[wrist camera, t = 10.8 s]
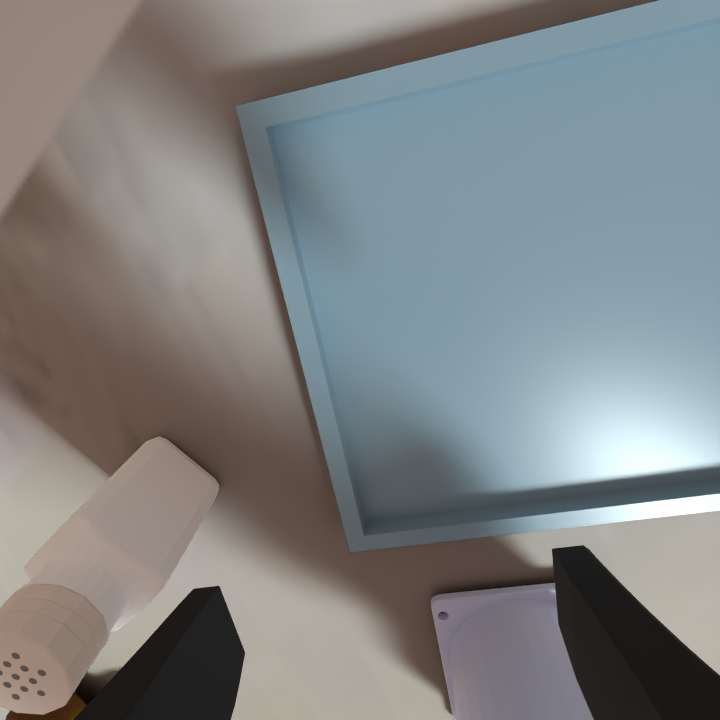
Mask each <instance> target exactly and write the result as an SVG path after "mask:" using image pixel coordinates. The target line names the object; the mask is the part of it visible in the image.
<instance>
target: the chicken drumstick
mask: <svg viewBox="0 0 720 720" xmlns="http://www.w3.org/2000/svg"><path fill="white" fill-rule="evenodd" d="M86 706H87V705H86V704H85V703H84V702H83V701H82V699H80V698H79V697H78V696H77V694H76V693H75V691H74V693H73V694H72V696H71V697H70V699H69V701H68V702H67V704H66V705H65V706H63V707H61V708H59V709H56V710H54V711H51V712H49V713H46V714H44V715H41V714H27V713H16V712H13V711H11V710H10V712H9V713H8V715H7V716H6V720H73V719H74V718H75V717H76V716H77V715H78V714H79V713H80V712H81V711H82V710H83V709H84V708H85V707H86Z"/></svg>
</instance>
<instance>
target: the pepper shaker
mask: <svg viewBox="0 0 720 720" xmlns="http://www.w3.org/2000/svg"><path fill="white" fill-rule="evenodd" d="M218 491H219V484H218V482H217V481H216V479H215V478H214V477H213V476H211V475H210V474H209V473H208V472H206V471H205V470H204V469H203V468H202V467H200V466H199V465H198V464H197V463H195V462H194V461H193V460H192V459H191V458H189V457H188V456H187V455H186V454H184V453H183V452H182V451H181V450H180V449H178V448H177V447H176V446H175V445H173V444H172V443H171V442H170V441H169V440H167V439H165V438H162V437H160V436H159V437H156V438H153V439H151V440H148V441H146V442H145V443H144V444H143V445H142V446H141V447H140V448H139V449H138V450H137V451H136V452H135V453H134V454H133V455H132V456H131V457H130V458H129V459H128V460H127V461H126V462H125V463H124V464H123V465H122V466H121V467H120V468H119V469H118V470H117V471H116V472H115V473H114V474H113V475H112V476H111V477H110V478H109V479H108V480H107V481H106V482H105V483H104V484H103V485H102V486H101V487H100V488H99V489H98V490H97V491H96V492H95V493H94V494H93V495H92V496H91V497H90V498H89V499H88V500H87V501H86V502H85V503H84V504H83V505H82V506H81V507H80V508H79V509H78V510H77V511H76V512H75V513H74V514H73V515H72V516H71V517H70V518H69V519H68V520H67V521H66V522H65V523H64V524H63V525H62V526H61V527H60V528H59V529H58V530H57V531H56V533H55V534H54V535H53V536H52V537H51V538H50V539H49V540H48V541H47V542H46V543H45V544H44V545H43V546H42V547H41V548H40V550H39V551H38V552H37V553H36V554H35V555H34V556H33V557H32V558H31V559H30V560H29V562H28V563H27V564H26V565H25V572H26V576H27V578H28V581H29V583H28V584H25V585H24V586H22V587H21V588H19V589H18V590H17V591H16V592H15V593H14V594H13V595H12V596H11V597H10V598H9V599H8V600H7V601H6V602H5V603H4V604H3V607H1V608H0V706H2V707H4V708H6V709H9V710H11V711H13V712H16V713H27V714H41V715H44V714H46V713H49V712H51V711H54V710H56V709H59V708H61V707H63V706H65V705H66V704H67V702H68V701H69V699H70V697H71V696H72V694H73V693H74V691H75V690H76V688H77V687H78V685H79V683H80V682H81V680H82V678H83V677H84V676H85V674H86V673H87V671H88V669H89V668H90V666H91V665H92V663H93V662H94V660H95V659H96V657H97V656H98V654H99V652H100V651H101V650H102V648H103V647H104V646H105V644H106V643H107V641H108V638H109V635H110V631H117V630H118V629H120V628H121V627H122V626H124V625H125V624H126V623H127V622H129V621H130V620H131V619H132V618H133V617H135V616H136V615H137V614H138V613H139V612H140V611H141V610H142V609H143V608H144V607H145V606H146V605H147V604H149V603H150V601H151V600H152V599H153V598H154V597H155V596H156V595H157V594H158V593H159V592H160V591H161V590H162V589H163V588H164V586H165V584H166V582H167V581H168V579H169V577H170V576H171V574H172V572H173V571H174V569H175V567H176V565H177V564H178V562H179V560H180V559H181V557H182V555H183V553H184V552H185V550H186V548H187V547H188V545H189V543H190V542H191V540H192V538H193V536H194V535H195V533H196V531H197V530H198V528H199V526H200V524H201V523H202V521H203V519H204V518H205V516H206V514H207V513H208V511H209V509H210V507H211V506H212V504H213V502H214V501H215V499H216V497H217V494H218Z"/></svg>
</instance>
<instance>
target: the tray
mask: <svg viewBox="0 0 720 720" xmlns="http://www.w3.org/2000/svg"><path fill="white" fill-rule="evenodd" d="M235 108H236V112H237V116H238V120H239V123H240V127H241V131H242V135H243V139H244V143H245V147H246V151H247V155H248V159H249V162H250V166H251V170H252V174H253V178H254V182H255V186H256V190H257V194H258V197H259V201H260V205H261V209H262V213H263V217H264V221H265V225H266V229H267V232H268V236H269V240H270V244H271V248H272V252H273V256H274V260H275V264H276V267H277V271H278V275H279V279H280V283H281V287H282V291H283V295H284V299H285V302H286V306H287V310H288V314H289V318H290V322H291V326H292V330H293V334H294V337H295V341H296V345H297V349H298V353H299V357H300V361H301V365H302V369H303V372H304V376H305V380H306V384H307V388H308V392H309V396H310V400H311V404H312V407H313V411H314V415H315V419H316V423H317V427H318V431H319V435H320V439H321V442H322V446H323V450H324V454H325V458H326V462H327V466H328V470H329V474H330V477H331V481H332V485H333V489H334V493H335V497H336V501H337V505H338V509H339V512H340V516H341V520H342V524H343V528H344V532H345V536H346V540H347V544H348V547H349V551H350V553H351V552H360V551H369V550H378V549H386V548H395V547H404V546H412V545H421V544H430V543H439V542H447V541H456V540H465V539H473V538H482V537H491V536H500V535H508V534H517V533H526V532H535V531H543V530H552V529H561V528H569V527H578V526H587V525H596V524H604V523H613V522H622V521H630V520H639V519H648V518H657V517H665V516H674V515H683V514H692V513H700V512H709V511H718V510H720V0H658V1H654V2H650V3H646V4H642V5H638V6H634V7H630V8H626V9H622V10H618V11H614V12H610V13H606V14H602V15H598V16H594V17H590V18H586V19H582V20H578V21H574V22H570V23H566V24H562V25H558V26H554V27H550V28H546V29H542V30H538V31H534V32H530V33H526V34H522V35H518V36H514V37H510V38H506V39H502V40H498V41H494V42H490V43H486V44H482V45H478V46H474V47H470V48H466V49H462V50H458V51H454V52H450V53H446V54H442V55H438V56H434V57H430V58H426V59H422V60H418V61H414V62H410V63H406V64H402V65H398V66H394V67H390V68H386V69H382V70H378V71H374V72H370V73H366V74H362V75H358V76H354V77H350V78H346V79H342V80H338V81H334V82H330V83H326V84H322V85H318V86H314V87H310V88H306V89H302V90H298V91H294V92H290V93H286V94H282V95H278V96H274V97H270V98H266V99H262V100H258V101H254V102H250V103H246V104H242V105H238V106H235Z"/></svg>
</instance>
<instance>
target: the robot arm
mask: <svg viewBox="0 0 720 720" xmlns="http://www.w3.org/2000/svg"><path fill="white" fill-rule="evenodd" d="M552 555H553V567H554V579H555V583H546V584H536V585H527V586H517V587H507V588H497V589H487V590H477V591H467V592H457V593H447V594H439V595H435V596H434V597H433V598H432V599H431V609H432V614H433V619H434V624H435V629H436V634H437V639H438V644H439V649H440V654H441V659H442V665H443V670H444V675H445V680H446V685H447V690H448V695H449V700H450V705H451V710H452V715H453V720H720V675H719V674H717V673H716V672H715V671H714V670H713V669H712V668H710V667H709V666H708V665H707V664H706V663H705V662H704V661H702V660H701V659H700V658H699V657H698V656H697V655H696V654H695V653H693V652H692V651H691V650H690V649H689V648H688V647H687V646H686V645H685V644H683V643H682V642H681V641H680V640H679V639H678V638H677V637H676V636H675V635H674V634H673V633H672V632H671V631H669V630H668V629H667V628H666V627H665V626H664V625H663V624H662V623H661V622H660V621H659V620H658V619H657V618H656V617H655V616H653V615H652V614H651V613H650V612H649V611H648V610H647V609H646V608H645V607H644V606H643V605H642V604H641V603H640V602H639V601H638V600H637V599H636V598H635V597H634V596H633V595H632V594H631V593H630V592H629V591H628V590H627V589H626V588H625V587H624V586H623V585H622V584H621V583H620V582H619V581H618V580H617V579H616V578H615V577H614V576H613V575H612V574H611V573H610V572H609V571H608V569H607V568H606V567H605V566H604V565H603V564H602V563H601V562H600V561H599V560H598V559H597V558H596V557H595V556H594V554H593V553H592V552H591V551H590V550H589V549H588V548H586V547H585V546H583V545H582V546H573V547H564V548H555V549H552ZM440 612H446V613H440ZM244 655H245V651H244V649H243V646H242V644H241V641H240V639H239V636H238V633H237V631H236V628H235V626H234V623H233V620H232V618H231V615H230V613H229V610H228V607H227V605H226V602H225V600H224V597H223V594H222V592H221V589H220V587H219V586H214V587H205V588H196V589H193V590H192V591H191V592H190V593H189V594H188V595H187V597H186V598H185V599H184V600H183V601H182V602H181V603H180V604H179V605H178V606H177V607H176V608H175V610H174V611H173V612H172V613H171V614H170V615H169V616H168V617H167V619H166V620H165V621H164V622H163V623H162V624H161V625H160V626H159V628H158V629H157V630H156V631H155V632H154V633H153V634H152V635H151V637H150V638H149V639H148V640H147V641H146V642H145V643H144V644H143V645H142V647H141V648H140V649H139V650H138V651H137V652H136V653H135V654H134V655H133V656H132V658H131V659H130V660H129V661H128V662H127V663H126V664H125V665H124V666H123V667H122V669H121V670H120V671H119V672H118V673H117V674H116V675H115V676H114V677H113V678H112V680H111V681H110V682H109V683H108V684H107V685H106V686H105V687H104V688H103V689H102V690H101V691H100V692H99V693H98V694H97V695H96V696H95V697H94V698H93V699H92V700H91V701H90V702H89V703H88V704H87V706H86V707H85V708H84V709H83V710H82V711H81V712H80V713H79V714H78V715H77V716H76V717H75V718H74V719H73V720H231V716H232V713H233V710H234V706H235V702H236V697H237V692H238V687H239V683H240V677H241V672H242V666H243V661H244Z"/></svg>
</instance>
